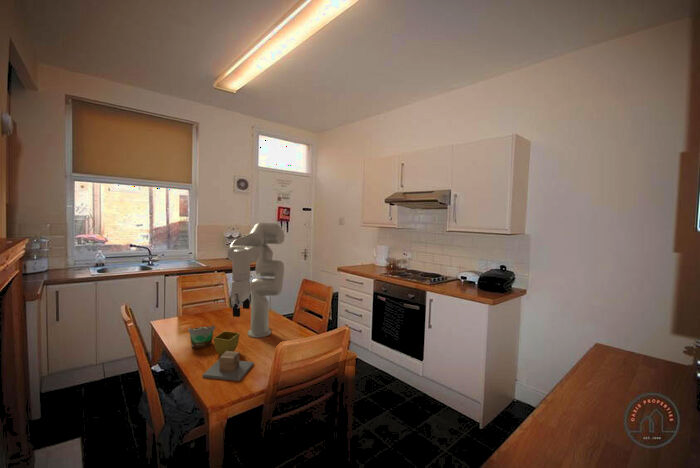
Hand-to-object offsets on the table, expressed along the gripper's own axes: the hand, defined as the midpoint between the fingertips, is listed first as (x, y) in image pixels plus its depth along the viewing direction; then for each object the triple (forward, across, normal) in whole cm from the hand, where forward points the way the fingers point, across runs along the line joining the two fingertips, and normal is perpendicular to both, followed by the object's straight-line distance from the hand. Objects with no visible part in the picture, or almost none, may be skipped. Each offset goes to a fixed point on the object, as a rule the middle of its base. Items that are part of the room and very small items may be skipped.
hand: (241, 312), depth 144 cm
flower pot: (+23, -4, -10) cm, 26 cm away
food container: (+24, -8, -25) cm, 35 cm away
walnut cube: (+21, +10, 0) cm, 24 cm away
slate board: (+22, +11, 0) cm, 25 cm away
